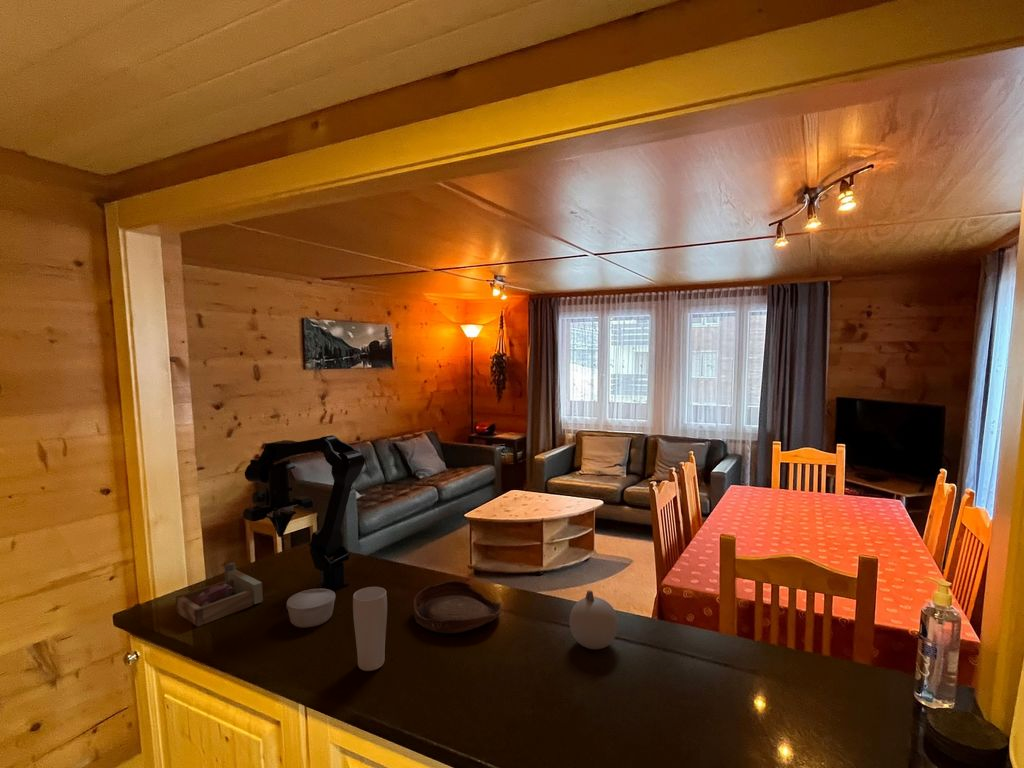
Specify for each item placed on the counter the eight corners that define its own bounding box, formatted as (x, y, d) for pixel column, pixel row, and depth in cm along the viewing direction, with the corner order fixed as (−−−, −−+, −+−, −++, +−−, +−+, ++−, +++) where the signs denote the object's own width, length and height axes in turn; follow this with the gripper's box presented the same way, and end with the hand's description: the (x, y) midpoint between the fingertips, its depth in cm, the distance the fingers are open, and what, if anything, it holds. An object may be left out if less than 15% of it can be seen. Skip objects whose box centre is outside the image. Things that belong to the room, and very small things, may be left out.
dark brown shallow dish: (518, 617, 125) (518, 597, 125) (459, 652, 110) (459, 630, 110) (455, 591, 140) (455, 573, 139) (395, 620, 124) (395, 600, 124)
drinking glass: (394, 658, 107) (393, 588, 107) (376, 677, 101) (374, 602, 100) (367, 653, 110) (365, 584, 109) (347, 671, 103) (345, 598, 103)
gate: (263, 600, 134) (263, 576, 133) (253, 604, 132) (253, 579, 131) (233, 584, 144) (232, 561, 144) (223, 587, 142) (222, 564, 142)
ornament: (560, 646, 111) (560, 592, 111) (587, 628, 119) (587, 577, 118) (600, 664, 104) (600, 607, 104) (626, 644, 112) (626, 590, 111)
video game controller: (194, 623, 127) (201, 601, 125) (184, 611, 128) (191, 589, 127) (231, 606, 135) (238, 585, 134) (221, 595, 137) (228, 574, 136)
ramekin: (336, 605, 132) (335, 585, 132) (335, 625, 122) (335, 604, 121) (289, 612, 129) (288, 591, 128) (284, 634, 118) (283, 611, 118)
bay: (253, 605, 132) (252, 590, 132) (197, 626, 122) (197, 610, 122) (230, 593, 140) (230, 578, 139) (176, 612, 129) (175, 596, 129)
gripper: (293, 475, 161) (295, 523, 162) (232, 486, 146) (234, 540, 147) (313, 479, 155) (315, 530, 155) (252, 492, 140) (253, 548, 140)
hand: (280, 536), depth 150 cm, fingers closed
